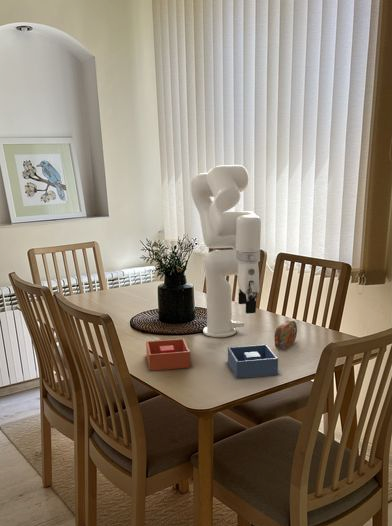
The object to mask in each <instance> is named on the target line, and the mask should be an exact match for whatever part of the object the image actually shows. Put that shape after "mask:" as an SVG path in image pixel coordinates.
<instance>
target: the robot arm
mask: <svg viewBox="0 0 392 526" xmlns="http://www.w3.org/2000/svg"><path fill="white" fill-rule="evenodd" d="M249 184H250V175H249V172H248V170H247V168H246V167H245V166H243V165H240V164H233V165H232V164H231V165H230V164H229V165H228V164H227V165H216V166H214V167H211V168H210V169H209V170H208V171H207V172H203V173H198V174H196V175H194V176H193V177H192V179H191V182H190V192H191V197H192V200H193V204H194V205H195V207H196V209H197V212H198V214H199V220H200V226H201V233H202V239H203V243H204V245H205V247H207V248H208V249H216V250H212V251H209V252H207V253H206V254H205V255H204V256H203V259H202V260H203V262H202V264H203V270H204V276H205V287H206V291H205V292H206V326H205V327H204V328H203V329H202V332H203V335H205V336H207V337H211V338H226V337H231V336H234V335H235V334H236V332H237V330H236V329H237V328H244V327H245V322H244V321H239V320H236V321H235V320H233V304H232V303H233V299H232V297H233V296H232V295H233V293H232V292H233V290H232V285H231V283H230V282H229V281H228V280H227V278H226V277H230V276H237V286H238V297H237V298H238V305H245V314H256V313H257V294H259V293H260V269H259V268H260V267H259V262H261V236H262V235H261V232H262V230H261V229H262V220H261V217H260V216H259V215H256V213H255V212H254V211H251V210H250V211H249V210H242V211H241V210H240V211H229V210H231V209H233V208H234V207H235V206H236V205H237V204H238V203H239V202H240V200H241V193H242V192H244V191H245V190H246V189H247V188H248V186H249ZM212 198H213V199H212ZM228 248H231V249H228ZM217 249H218V250H217Z"/></svg>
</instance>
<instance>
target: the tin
mask: <svg viewBox="0 0 392 526" xmlns="http://www.w3.org/2000/svg"><path fill="white" fill-rule="evenodd" d="M297 334H298V326H297V322H296V321H295V320H286V321H284V322H282V323H281V324H280V325H278V327H276V329H275V331H274V347H275V348H276V349H277V350H283V351H285V350H287V349H288V348H290V346H292V345H293V344H294V343H295V342H296V340H297Z"/></svg>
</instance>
